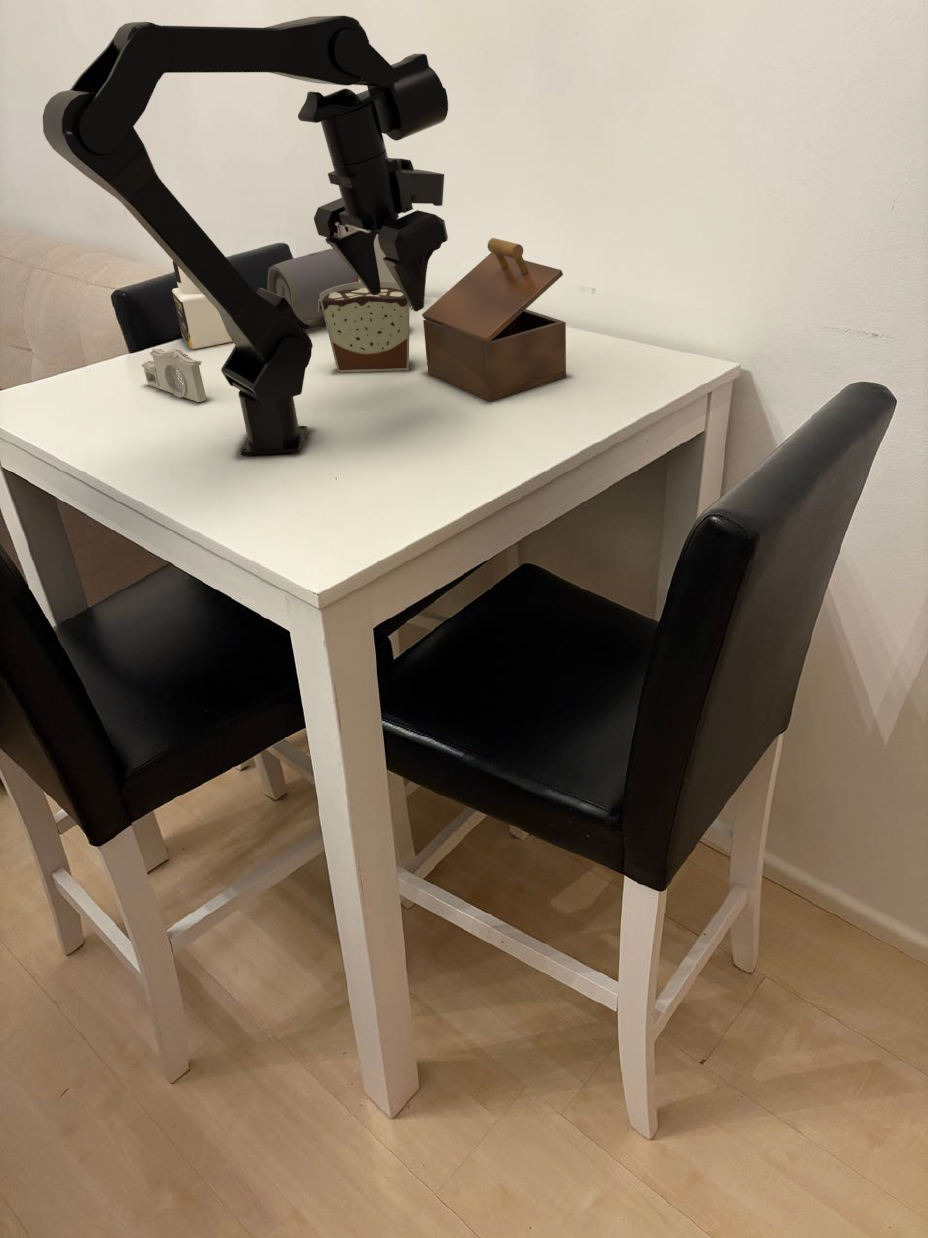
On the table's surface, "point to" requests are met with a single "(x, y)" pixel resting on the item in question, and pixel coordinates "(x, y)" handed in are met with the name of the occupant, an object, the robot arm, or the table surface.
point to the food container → (367, 327)
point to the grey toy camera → (175, 374)
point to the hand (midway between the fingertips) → (397, 301)
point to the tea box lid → (492, 292)
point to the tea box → (499, 356)
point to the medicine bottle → (197, 314)
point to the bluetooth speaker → (309, 281)
